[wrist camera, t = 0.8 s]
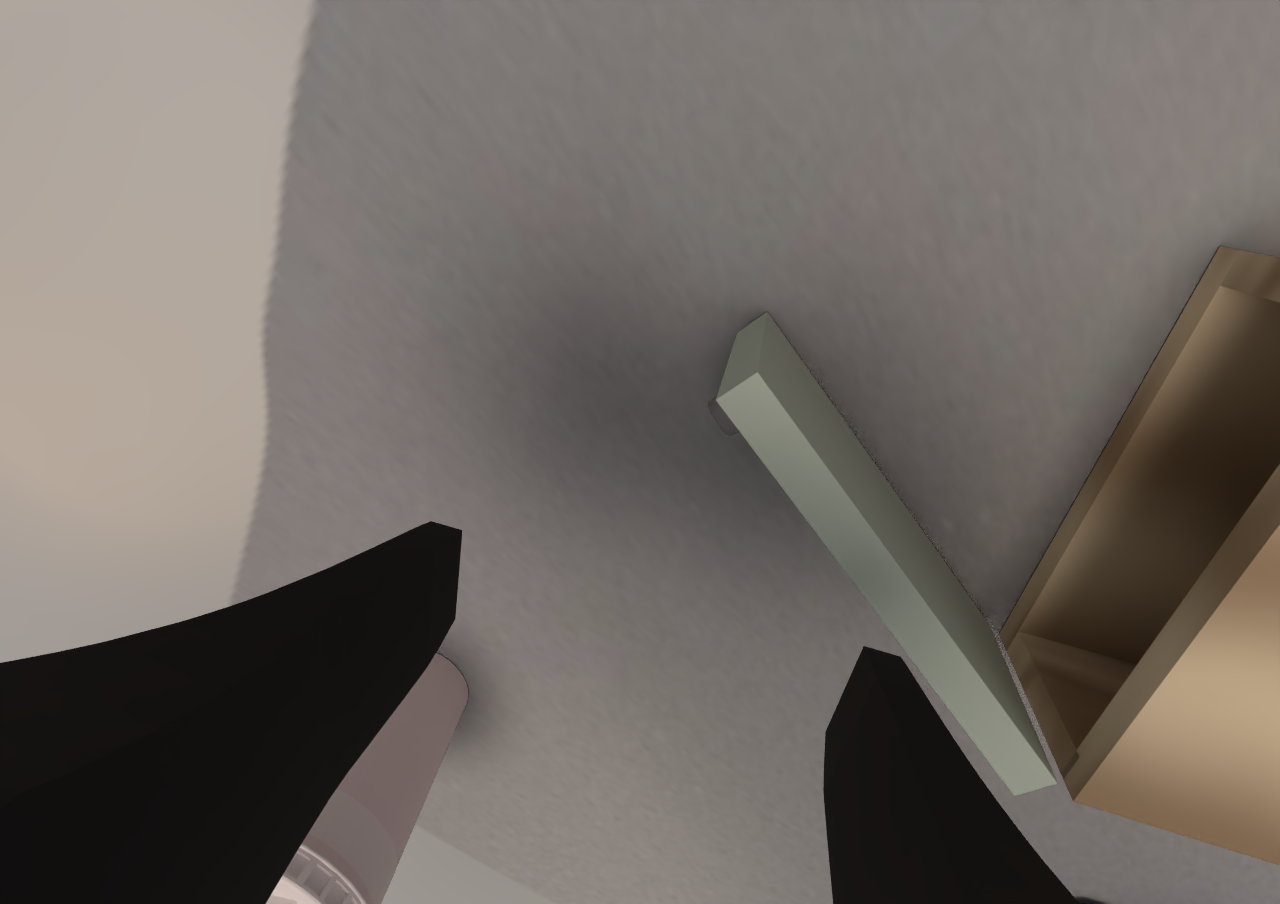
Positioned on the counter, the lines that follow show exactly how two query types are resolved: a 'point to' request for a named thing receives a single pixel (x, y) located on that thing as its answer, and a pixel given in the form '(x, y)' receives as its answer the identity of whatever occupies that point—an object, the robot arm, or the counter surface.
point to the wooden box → (1174, 586)
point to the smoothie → (378, 799)
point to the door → (877, 545)
